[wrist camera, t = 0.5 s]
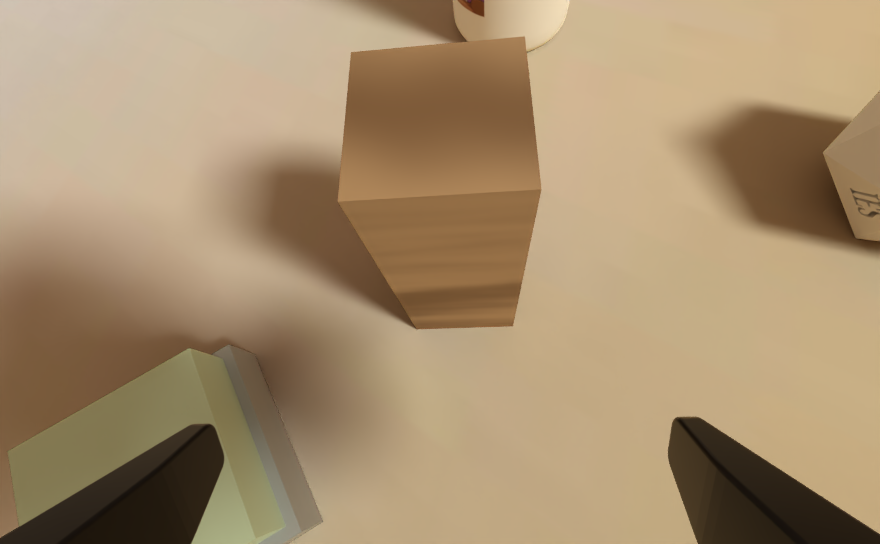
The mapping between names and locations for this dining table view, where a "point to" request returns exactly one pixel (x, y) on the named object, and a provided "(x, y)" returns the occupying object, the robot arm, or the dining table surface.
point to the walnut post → (444, 176)
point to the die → (859, 170)
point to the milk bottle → (510, 19)
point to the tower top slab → (142, 427)
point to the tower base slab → (271, 446)
